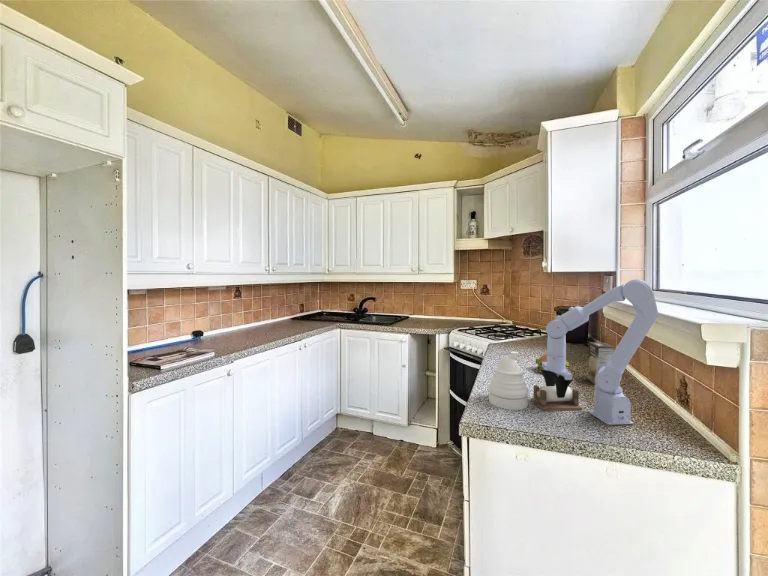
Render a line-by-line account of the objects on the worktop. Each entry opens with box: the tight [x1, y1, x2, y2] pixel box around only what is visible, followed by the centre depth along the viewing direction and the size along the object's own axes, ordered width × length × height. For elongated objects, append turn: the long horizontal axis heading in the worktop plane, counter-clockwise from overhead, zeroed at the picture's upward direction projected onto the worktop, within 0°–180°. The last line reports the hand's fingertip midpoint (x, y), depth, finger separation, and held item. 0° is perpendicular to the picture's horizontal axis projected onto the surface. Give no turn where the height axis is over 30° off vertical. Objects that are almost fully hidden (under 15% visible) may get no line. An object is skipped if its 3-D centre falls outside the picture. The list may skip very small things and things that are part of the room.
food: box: [535, 354, 572, 376], centre depth 148 cm, size 14×14×8 cm
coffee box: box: [587, 341, 616, 386], centre depth 134 cm, size 9×6×16 cm
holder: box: [529, 384, 583, 412], centre depth 112 cm, size 9×13×6 cm
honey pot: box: [488, 351, 529, 411], centre depth 115 cm, size 13×13×18 cm
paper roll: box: [537, 385, 573, 402], centre depth 112 cm, size 5×12×5 cm, turn 93°
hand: (555, 393), depth 112 cm, fingers open, 5 cm apart
